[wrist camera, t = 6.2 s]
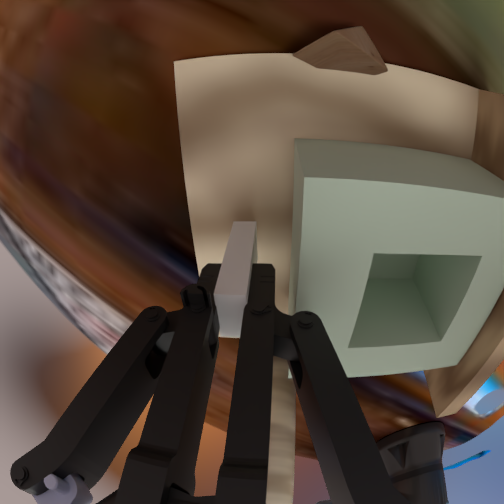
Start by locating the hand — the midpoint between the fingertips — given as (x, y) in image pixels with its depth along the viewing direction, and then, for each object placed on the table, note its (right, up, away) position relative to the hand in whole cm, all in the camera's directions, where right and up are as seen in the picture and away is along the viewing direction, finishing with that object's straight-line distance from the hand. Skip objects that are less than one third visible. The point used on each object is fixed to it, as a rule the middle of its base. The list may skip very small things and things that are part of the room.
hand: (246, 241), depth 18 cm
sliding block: (+9, +1, 0) cm, 9 cm away
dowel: (+3, -12, +10) cm, 16 cm away
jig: (+7, +1, +1) cm, 7 cm away
